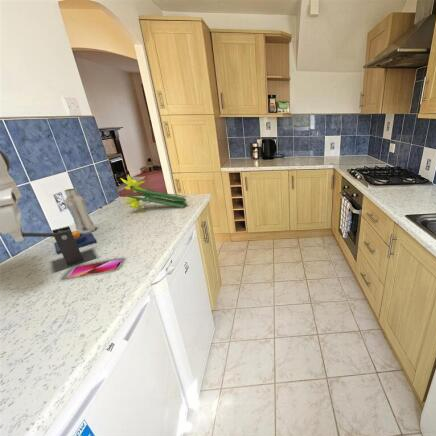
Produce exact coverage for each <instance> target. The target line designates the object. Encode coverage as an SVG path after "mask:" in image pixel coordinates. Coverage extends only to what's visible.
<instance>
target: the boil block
mask: <svg viewBox="0 0 436 436" xmlns="http://www.w3.org/2000/svg"><path fill="white" fill-rule="evenodd" d="M80 236H81V237H79V238H77V239H75V241H76V243H77V246H78V248H79V249H81V248H83V247H88V246H90V245H93V244H94V245H95V244H97V242H98V241H97V239H96V238H95V236H94V234H93V233H92V232H89V233H80ZM53 244H54V249H55V252H56V255H60V254H62V252H61V250H60V248H59V246H58V244H57V242H56V241H55V242H53Z"/></svg>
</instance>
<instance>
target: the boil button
mask: <svg viewBox="0 0 436 436" xmlns="http://www.w3.org/2000/svg"><path fill="white" fill-rule="evenodd" d="M71 232H72V234H73V236H74V239H77V238H79V237H81V236H80V233H79V231H76V230H73V231H71Z"/></svg>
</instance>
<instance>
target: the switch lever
mask: <svg viewBox="0 0 436 436" xmlns="http://www.w3.org/2000/svg"><path fill="white" fill-rule="evenodd" d="M20 232H21V234H22V235H23V237H24V238H27V237H29V238H35V237H36V238H38V237H39V238H41V237H42V238H54V236H53V234H54V233H53V232H24V233H22V231H21V230H20ZM58 232H62V231H58Z"/></svg>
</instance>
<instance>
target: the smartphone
mask: <svg viewBox="0 0 436 436" xmlns="http://www.w3.org/2000/svg"><path fill="white" fill-rule="evenodd" d="M123 262H124V259H123V258H117V259H111V260H106V261H100V262H94V263H89V264H83V265H76V266H74V267H75V268H74V269H72V271H71V272H70V274H69V275H68V277H67V278H66V279H76V278H80V277H87V276H92V275H97V274H104V273H110V272H114V271H117V270H118V269H119V268H120V267H121V265H122V264H123Z"/></svg>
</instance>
